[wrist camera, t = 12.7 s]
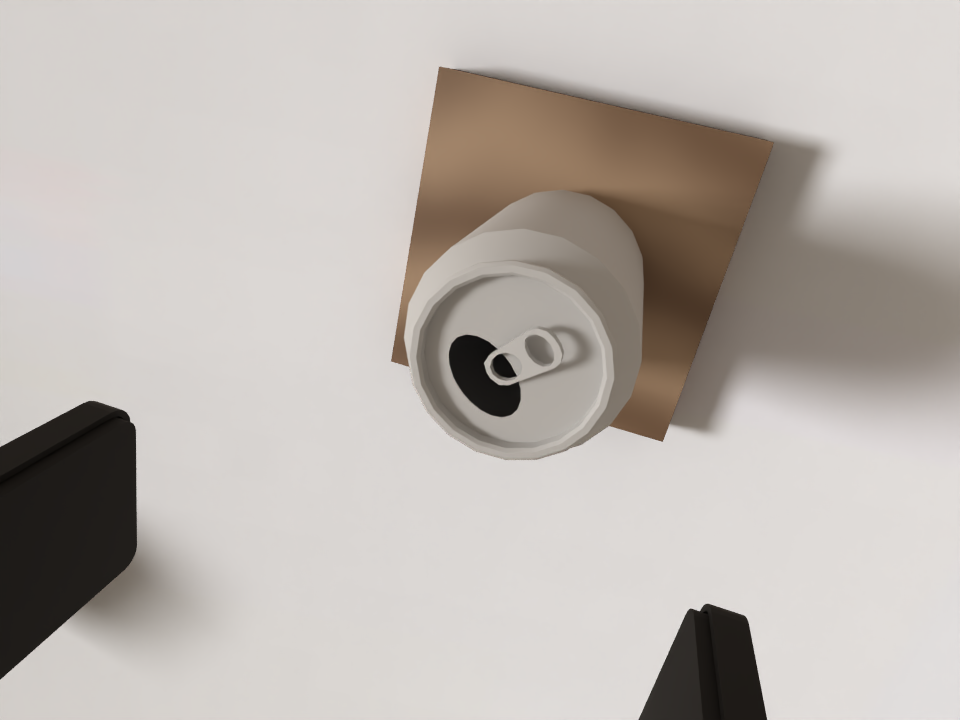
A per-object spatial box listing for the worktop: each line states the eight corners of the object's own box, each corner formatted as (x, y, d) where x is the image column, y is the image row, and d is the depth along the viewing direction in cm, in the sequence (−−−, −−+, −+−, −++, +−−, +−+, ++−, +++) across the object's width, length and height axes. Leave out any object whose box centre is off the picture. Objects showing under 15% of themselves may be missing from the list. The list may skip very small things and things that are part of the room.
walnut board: (662, 423, 33) (662, 441, 31) (404, 347, 35) (391, 361, 33) (765, 140, 28) (773, 142, 26) (452, 68, 29) (439, 66, 28)
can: (448, 245, 30) (336, 325, 20) (587, 151, 28) (546, 183, 17) (535, 376, 32) (475, 518, 21) (676, 299, 29) (692, 418, 18)
